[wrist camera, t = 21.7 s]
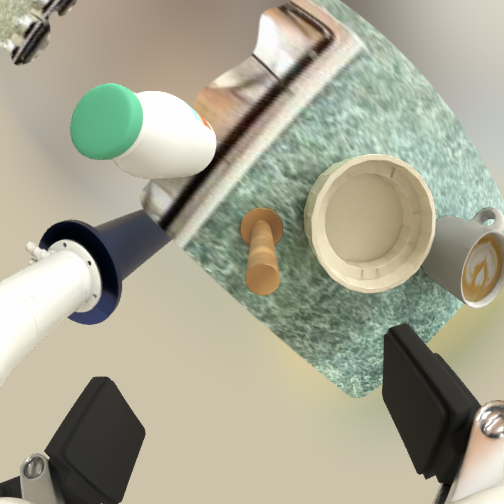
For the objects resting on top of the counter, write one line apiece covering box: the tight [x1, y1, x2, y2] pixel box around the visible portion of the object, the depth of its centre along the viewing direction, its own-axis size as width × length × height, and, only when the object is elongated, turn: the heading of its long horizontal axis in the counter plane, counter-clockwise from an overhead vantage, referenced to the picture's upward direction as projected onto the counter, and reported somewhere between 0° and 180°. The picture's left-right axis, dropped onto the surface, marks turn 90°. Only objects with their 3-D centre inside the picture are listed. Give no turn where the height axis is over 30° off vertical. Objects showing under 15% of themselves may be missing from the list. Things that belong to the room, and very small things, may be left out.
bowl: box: [304, 154, 436, 293], centre depth 31 cm, size 15×15×6 cm
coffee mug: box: [422, 207, 504, 309], centre depth 29 cm, size 13×10×10 cm
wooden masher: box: [240, 207, 283, 295], centre depth 26 cm, size 5×5×17 cm
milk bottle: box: [70, 84, 216, 179], centre depth 22 cm, size 8×8×20 cm
